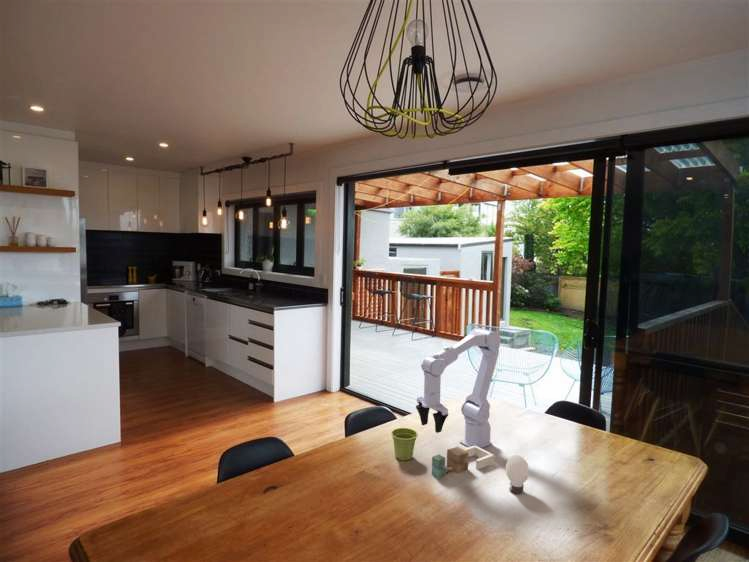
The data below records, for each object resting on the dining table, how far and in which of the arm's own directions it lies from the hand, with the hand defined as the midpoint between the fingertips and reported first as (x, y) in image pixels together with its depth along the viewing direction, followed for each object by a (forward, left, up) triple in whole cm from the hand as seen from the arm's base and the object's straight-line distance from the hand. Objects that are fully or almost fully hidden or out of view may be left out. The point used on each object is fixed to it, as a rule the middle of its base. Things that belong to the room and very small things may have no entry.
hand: (431, 428), depth 157 cm
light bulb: (-7, +32, -10) cm, 34 cm away
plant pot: (+9, -4, -10) cm, 14 cm away
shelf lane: (-10, +12, -10) cm, 19 cm away
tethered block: (+2, +12, -10) cm, 16 cm away
